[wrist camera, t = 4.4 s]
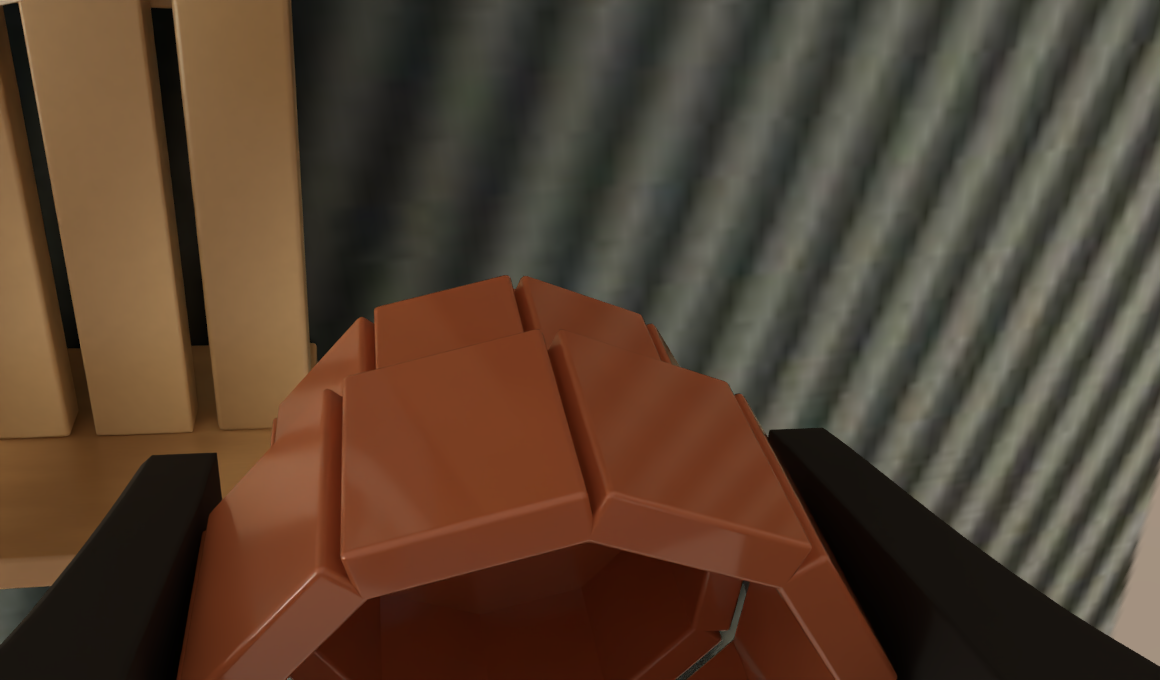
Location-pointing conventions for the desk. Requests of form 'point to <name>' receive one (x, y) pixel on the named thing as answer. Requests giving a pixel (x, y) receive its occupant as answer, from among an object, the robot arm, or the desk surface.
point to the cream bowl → (8, 2)
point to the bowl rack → (143, 260)
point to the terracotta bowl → (517, 514)
